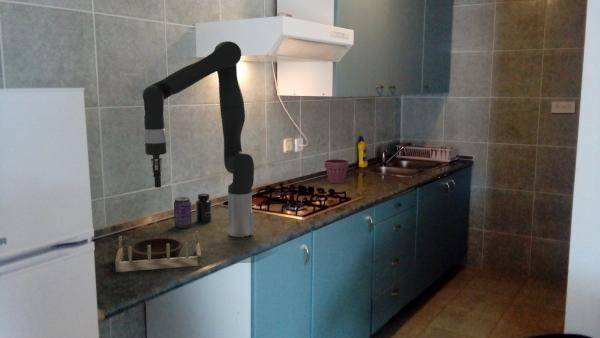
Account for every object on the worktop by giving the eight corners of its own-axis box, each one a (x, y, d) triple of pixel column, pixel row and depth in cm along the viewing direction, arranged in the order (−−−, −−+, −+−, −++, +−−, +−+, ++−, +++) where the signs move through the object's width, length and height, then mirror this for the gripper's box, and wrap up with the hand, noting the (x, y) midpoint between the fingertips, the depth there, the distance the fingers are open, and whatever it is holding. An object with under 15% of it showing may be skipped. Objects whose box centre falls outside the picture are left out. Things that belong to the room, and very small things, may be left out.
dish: (159, 245, 198) (159, 232, 197) (197, 259, 184) (196, 245, 183) (117, 257, 185) (116, 244, 184) (154, 273, 171) (154, 258, 170)
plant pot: (326, 179, 323) (326, 158, 320) (349, 180, 320) (349, 159, 318) (322, 184, 309) (323, 162, 307) (346, 185, 306) (347, 163, 304)
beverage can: (182, 223, 227) (181, 195, 225) (195, 225, 223) (194, 198, 221) (171, 227, 221) (169, 199, 219) (183, 229, 217) (182, 201, 215)
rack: (199, 250, 192) (198, 229, 190) (201, 265, 177) (200, 242, 176) (119, 256, 185) (118, 234, 184) (115, 272, 171) (114, 248, 170)
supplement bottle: (209, 223, 226) (208, 196, 224) (193, 223, 227) (192, 195, 225) (214, 219, 233) (213, 193, 231) (199, 218, 234) (198, 192, 232)
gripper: (165, 143, 189) (168, 190, 192) (166, 138, 201) (168, 182, 204) (143, 143, 187) (146, 191, 190) (145, 139, 199) (148, 184, 203)
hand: (158, 187), depth 197 cm, fingers closed
